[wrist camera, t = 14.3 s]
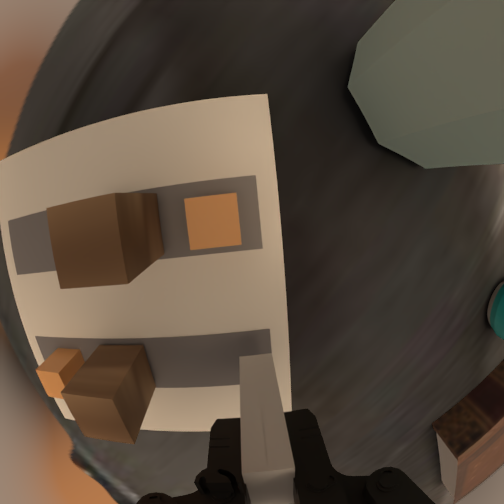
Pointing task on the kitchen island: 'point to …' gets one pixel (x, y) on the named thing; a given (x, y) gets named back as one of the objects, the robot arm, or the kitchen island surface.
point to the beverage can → (497, 310)
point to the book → (472, 436)
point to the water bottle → (435, 81)
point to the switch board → (167, 266)
